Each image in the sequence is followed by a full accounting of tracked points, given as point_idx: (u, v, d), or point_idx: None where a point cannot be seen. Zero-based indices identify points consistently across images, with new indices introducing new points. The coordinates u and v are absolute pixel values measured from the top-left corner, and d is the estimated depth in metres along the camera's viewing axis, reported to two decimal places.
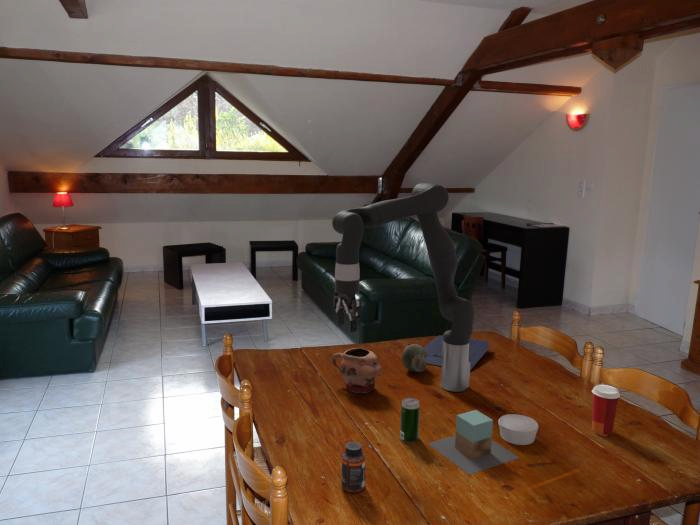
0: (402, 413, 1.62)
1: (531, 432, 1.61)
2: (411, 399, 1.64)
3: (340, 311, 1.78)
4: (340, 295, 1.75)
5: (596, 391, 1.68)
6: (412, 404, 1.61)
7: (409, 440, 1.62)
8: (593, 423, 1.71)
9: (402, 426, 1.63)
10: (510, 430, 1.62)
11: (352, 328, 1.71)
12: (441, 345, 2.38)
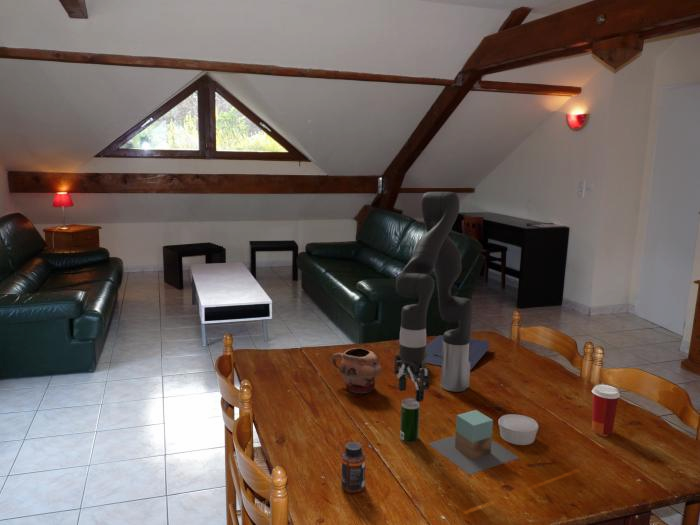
0: (402, 413, 1.62)
1: (531, 432, 1.61)
2: (411, 399, 1.64)
3: (402, 377, 1.65)
4: (404, 360, 1.62)
5: (596, 391, 1.68)
6: (412, 404, 1.61)
7: (409, 440, 1.62)
8: (593, 423, 1.71)
9: (402, 426, 1.63)
10: (510, 430, 1.62)
11: (418, 398, 1.57)
12: (441, 345, 2.39)
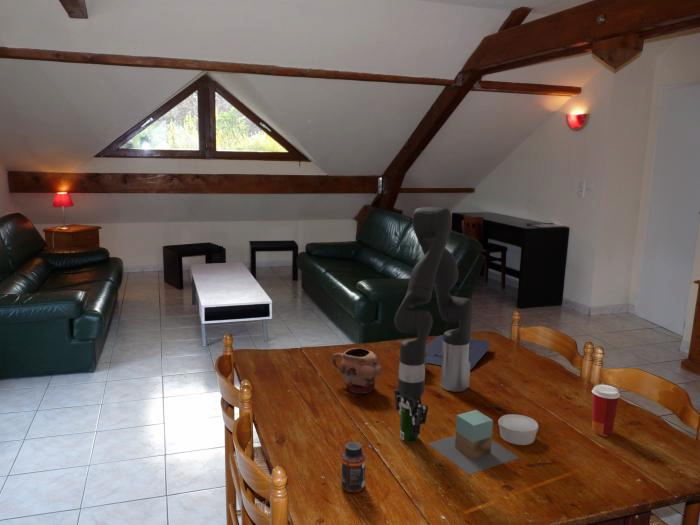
0: (402, 413, 1.62)
1: (531, 432, 1.61)
2: None
3: None
4: None
5: (596, 391, 1.68)
6: None
7: (409, 440, 1.62)
8: (593, 423, 1.71)
9: (402, 426, 1.63)
10: (510, 430, 1.62)
11: (415, 432, 1.61)
12: (442, 345, 2.39)
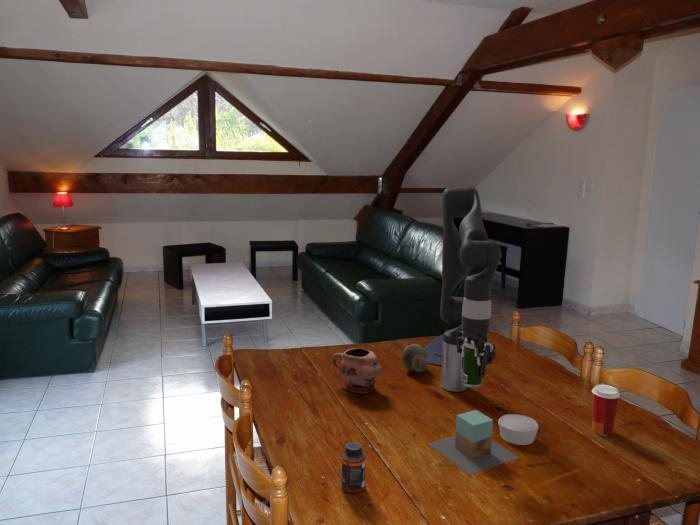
0: (466, 354, 1.52)
1: (531, 432, 1.61)
2: None
3: None
4: (466, 333, 1.54)
5: (596, 391, 1.68)
6: None
7: (473, 383, 1.52)
8: (593, 423, 1.71)
9: (465, 368, 1.53)
10: (510, 430, 1.62)
11: (480, 374, 1.51)
12: (442, 344, 2.39)
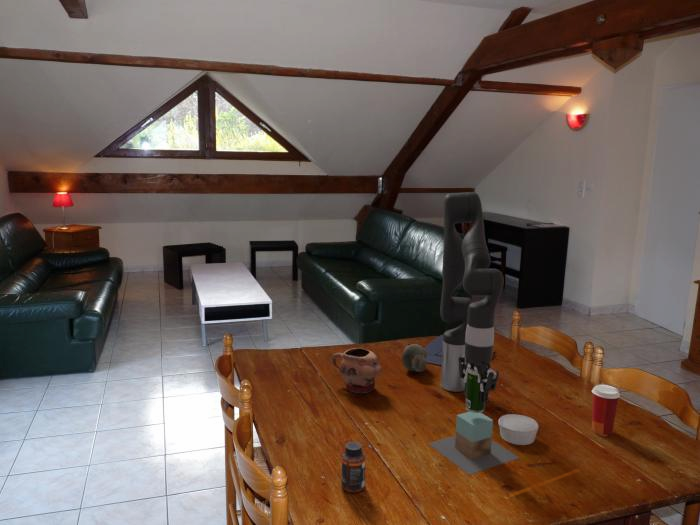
0: (469, 380, 1.53)
1: (531, 432, 1.61)
2: None
3: None
4: (469, 359, 1.55)
5: (596, 391, 1.68)
6: None
7: (476, 408, 1.53)
8: (593, 423, 1.71)
9: (468, 394, 1.54)
10: (510, 430, 1.62)
11: (483, 400, 1.52)
12: (442, 344, 2.39)
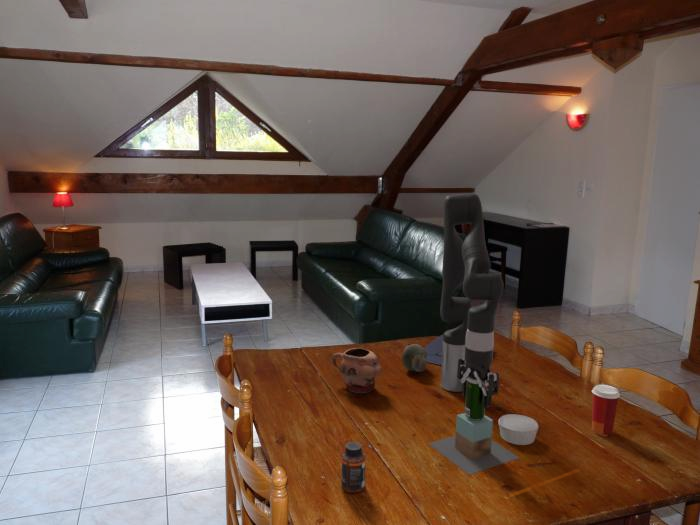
0: (468, 388, 1.54)
1: (531, 432, 1.61)
2: None
3: (466, 381, 1.58)
4: (469, 364, 1.55)
5: (596, 391, 1.68)
6: None
7: (476, 417, 1.54)
8: (593, 423, 1.71)
9: (468, 402, 1.54)
10: (510, 430, 1.62)
11: (486, 404, 1.51)
12: None
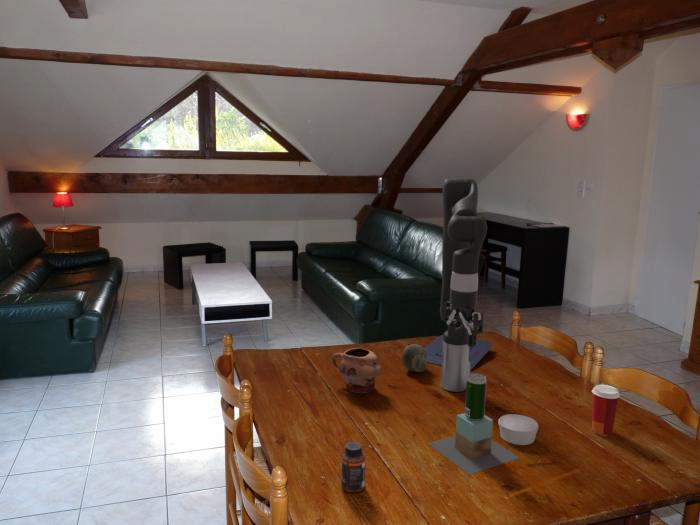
0: (468, 388, 1.54)
1: (531, 432, 1.61)
2: (477, 374, 1.56)
3: (452, 323, 1.64)
4: (454, 306, 1.60)
5: (596, 391, 1.68)
6: (479, 379, 1.53)
7: (476, 417, 1.54)
8: (593, 423, 1.71)
9: (468, 402, 1.54)
10: (510, 430, 1.62)
11: (471, 343, 1.56)
12: None
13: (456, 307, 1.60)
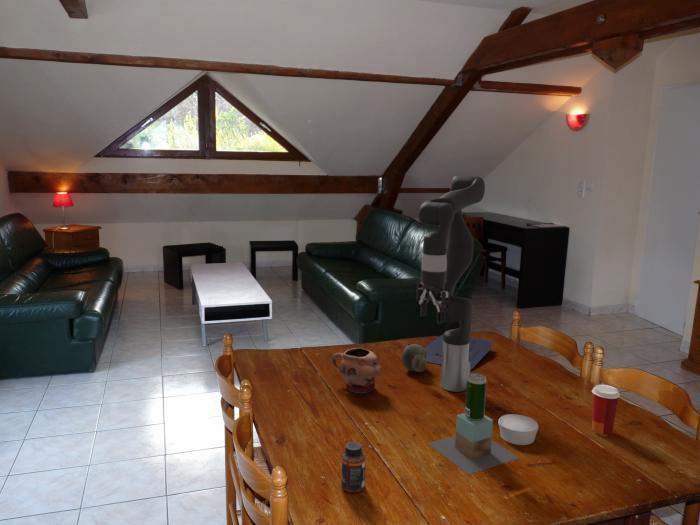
0: (468, 388, 1.54)
1: (531, 432, 1.61)
2: (477, 374, 1.56)
3: (424, 303, 1.77)
4: (425, 286, 1.74)
5: (596, 391, 1.68)
6: (479, 379, 1.53)
7: (476, 417, 1.54)
8: (593, 423, 1.71)
9: (468, 402, 1.54)
10: (510, 430, 1.62)
11: (440, 319, 1.69)
12: None
13: (427, 287, 1.73)
